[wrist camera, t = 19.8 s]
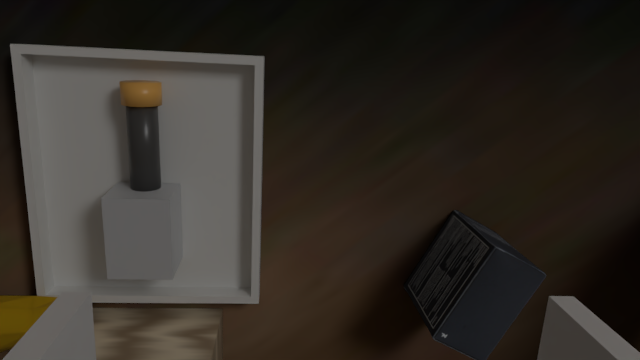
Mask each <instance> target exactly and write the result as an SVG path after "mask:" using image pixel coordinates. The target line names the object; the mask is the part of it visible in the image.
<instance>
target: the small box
mask: <svg viewBox="0 0 640 360" xmlns="http://www.w3.org/2000/svg"><path fill="white" fill-rule="evenodd" d="M545 277H546V274H545V273H544V272H543V271H541V270H540V269H539V268H537V267H536V266H535V265H534V264H533V263H531V262H530V261H529V260H528V259H527V258H525V257H524V256H523V255H522V254H521V253H519V252H518V251H517V250H516V249H515V248H513V247H512V246H511V245H510V244H509V243H507V242H506V241H505V240H504V239H503V238H501V237H500V236H499V235H498V234H497V233H495V232H494V231H492V230H490V229H489V228H487V227H485V226H483V225H482V224H480V223H478V222H476V221H475V220H473V219H471V218H469V217H468V216H466V215H464V214H462V213H461V212H459V211H457V210H454V211H453V212H452V214H451V215H450V216H449V218H448V219H447V221H446V222H445V224H444V225H443V227H442V228H441V230H440V231H439V233H438V234H437V236H436V237H435V239H434V240H433V242H432V243H431V245H430V246H429V248H428V250H427V251H426V252H425V254H424V256H423V257H422V258H421V260H420V262H419V263H418V265H417V266H416V268H415V269H414V271H413V272H412V274H411V275H410V277H409V278H408V280H407V281H406V283H405V284H404V288H405V291H406V292H408V294H409V296H410V298H411V300H412V301H413V303H414V305H415V307H416V308H417V310H418V312H419V314H420V315H421V317H422V319H423V321H424V322H425V324H426V326H427V327H428V329H429V331H430V333H431V336H432V338H433V340H435V341H438V342H440V343H442V344H444V345H446V346H448V347H450V348H452V349H454V350H456V351H458V352H460V353H463V354H464V355H466V356H469V357H471V358H473V359H475V360H486V359H487V358H488V356H489V355H490V353H491V352H492V351H493V349H494V348H495V346H496V345H497V344H498V342H499V341H500V339H501V338H502V337H503V335H504V334H505V332H506V331H507V330H508V328H509V327H510V325H511V324H512V323H513V321H514V320H515V318H516V317H517V316H518V314H519V313H520V311H521V310H522V309H523V307H524V306H525V305H526V303H527V302H528V300H529V299H530V298H531V296H532V295H533V293H534V292H535V291H536V289H537V288H538V287H539V285H540V284H541V283H542V281H543V280H544V278H545Z"/></svg>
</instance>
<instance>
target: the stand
mask: <svg viewBox="0 0 640 360" xmlns="http://www.w3.org/2000/svg"><path fill="white" fill-rule="evenodd" d="M93 322H94V335H95V348H96V360H222V308H93Z"/></svg>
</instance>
